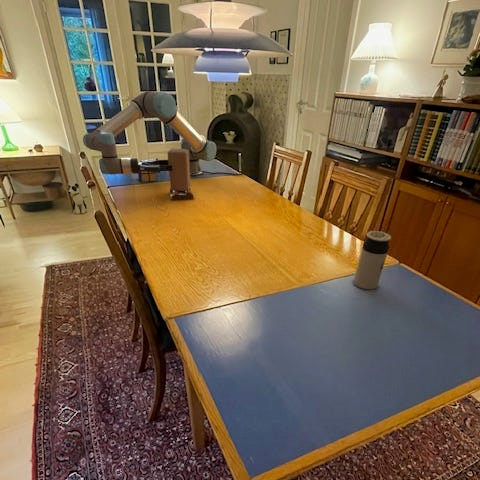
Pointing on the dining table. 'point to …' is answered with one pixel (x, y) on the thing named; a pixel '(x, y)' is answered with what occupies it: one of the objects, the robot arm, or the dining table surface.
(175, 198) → the brown tray
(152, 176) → the puzzle cube
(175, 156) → the block
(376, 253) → the travel mug
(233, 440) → the dining table surface
